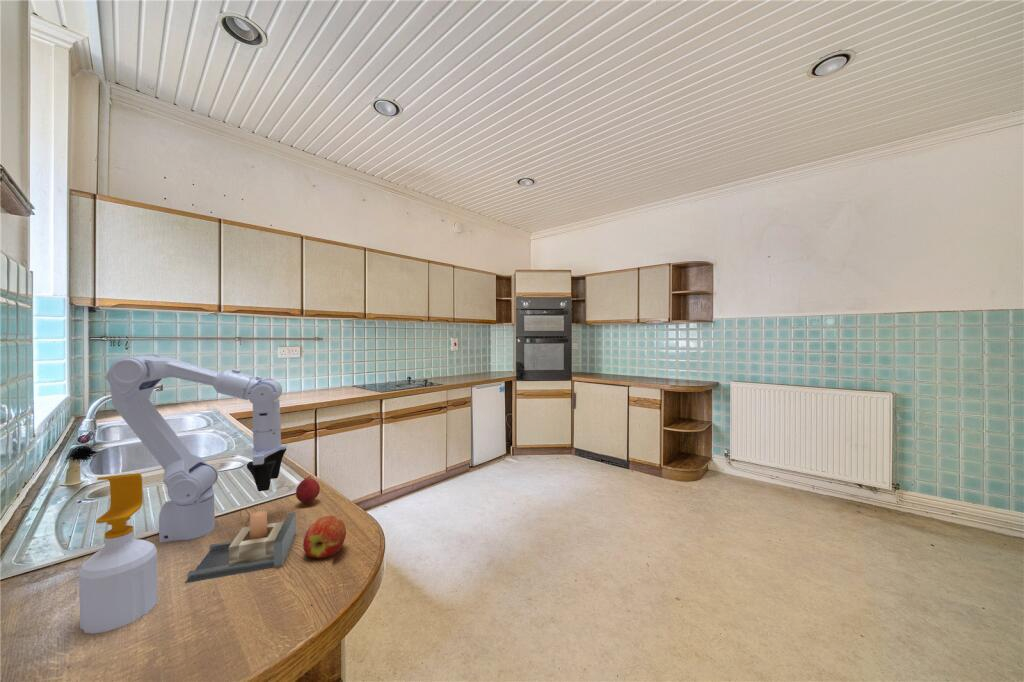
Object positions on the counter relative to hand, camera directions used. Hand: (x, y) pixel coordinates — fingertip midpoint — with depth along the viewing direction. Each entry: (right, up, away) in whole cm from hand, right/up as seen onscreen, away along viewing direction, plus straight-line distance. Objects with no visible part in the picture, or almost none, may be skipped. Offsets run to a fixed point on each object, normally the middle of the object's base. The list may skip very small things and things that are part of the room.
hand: (268, 484), depth 94 cm
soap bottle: (-6, -11, -30) cm, 33 cm away
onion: (+3, -10, +12) cm, 16 cm away
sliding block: (+6, -10, -13) cm, 18 cm away
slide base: (+4, -11, -14) cm, 18 cm away
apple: (+20, -11, -12) cm, 26 cm away
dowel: (+6, -8, -13) cm, 17 cm away
